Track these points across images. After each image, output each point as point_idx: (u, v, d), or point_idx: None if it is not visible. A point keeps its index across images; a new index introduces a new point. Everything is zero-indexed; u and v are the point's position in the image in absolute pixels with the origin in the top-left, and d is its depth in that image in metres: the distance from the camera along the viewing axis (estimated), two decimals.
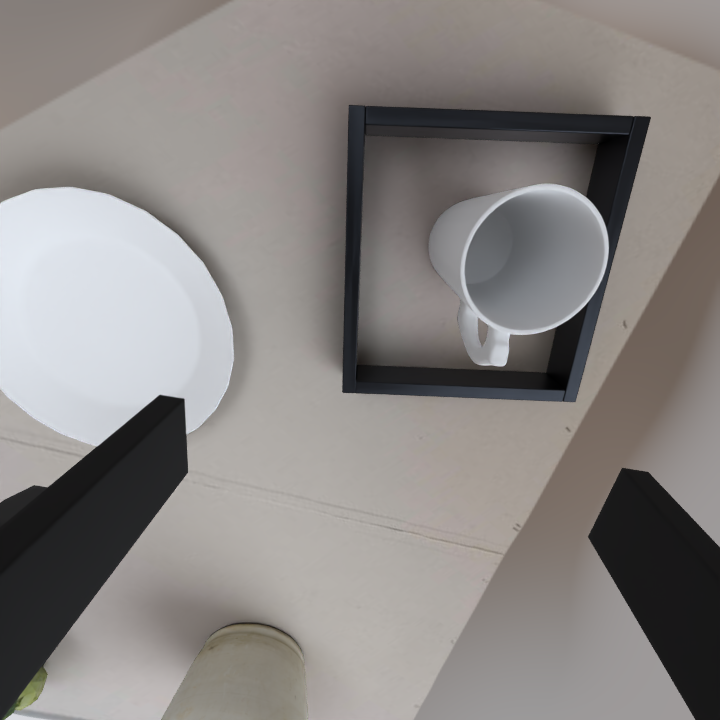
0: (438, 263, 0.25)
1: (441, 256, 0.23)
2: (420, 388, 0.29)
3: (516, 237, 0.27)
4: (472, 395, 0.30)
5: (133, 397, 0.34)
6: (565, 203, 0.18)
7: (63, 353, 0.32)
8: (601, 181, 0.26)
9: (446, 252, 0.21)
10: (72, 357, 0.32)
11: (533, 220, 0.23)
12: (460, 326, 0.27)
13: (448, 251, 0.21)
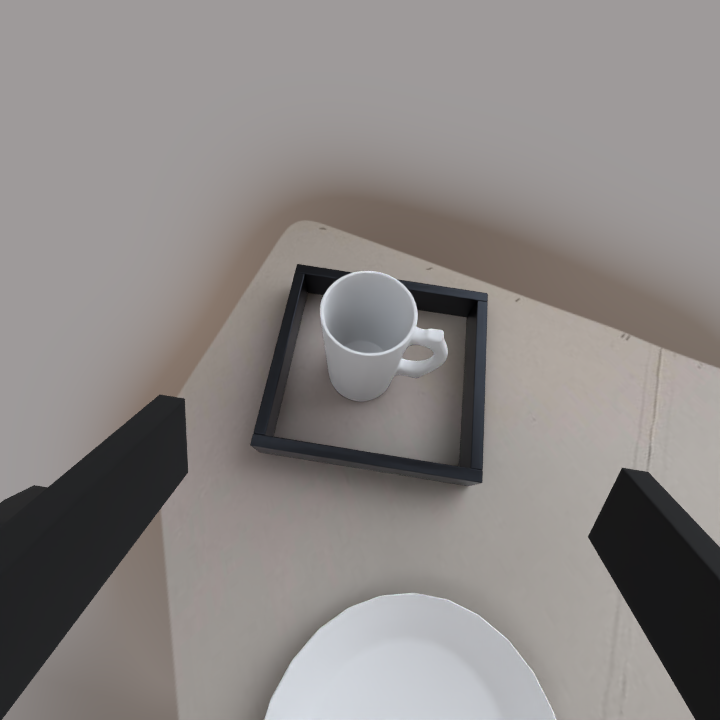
0: (369, 386, 0.32)
1: (362, 380, 0.30)
2: (477, 410, 0.33)
3: (358, 337, 0.37)
4: (483, 367, 0.35)
5: None
6: (334, 297, 0.29)
7: None
8: None
9: (358, 373, 0.29)
10: None
11: (346, 322, 0.34)
12: (421, 373, 0.33)
13: (357, 371, 0.28)
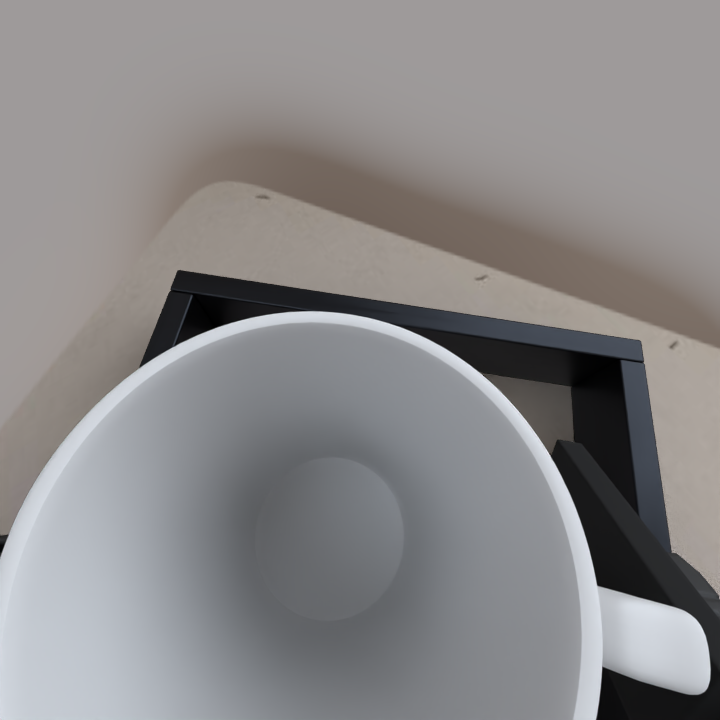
0: None
1: None
2: None
3: (324, 453, 0.15)
4: None
5: None
6: (168, 427, 0.06)
7: None
8: None
9: None
10: None
11: (279, 443, 0.12)
12: None
13: None
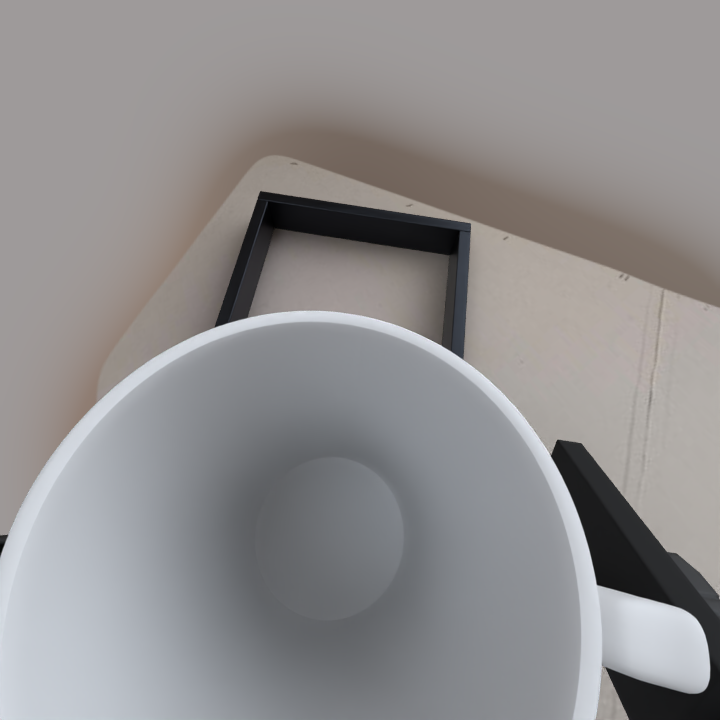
0: None
1: None
2: (456, 344, 0.29)
3: (324, 452, 0.15)
4: (464, 299, 0.31)
5: None
6: (168, 426, 0.06)
7: None
8: (297, 220, 0.36)
9: None
10: None
11: (278, 443, 0.12)
12: None
13: None
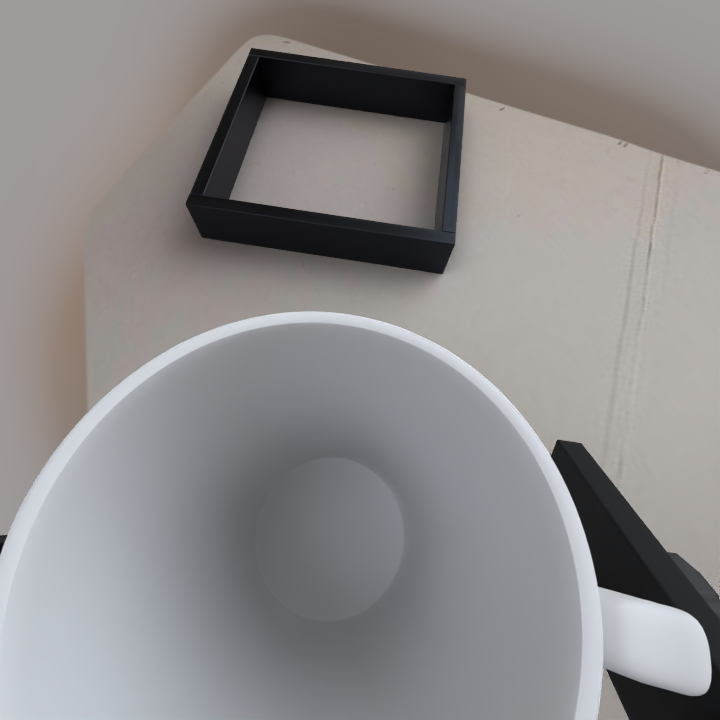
0: None
1: None
2: (450, 179, 0.29)
3: (324, 453, 0.15)
4: (459, 142, 0.30)
5: None
6: (168, 427, 0.06)
7: None
8: (289, 83, 0.35)
9: None
10: None
11: (278, 444, 0.12)
12: None
13: None
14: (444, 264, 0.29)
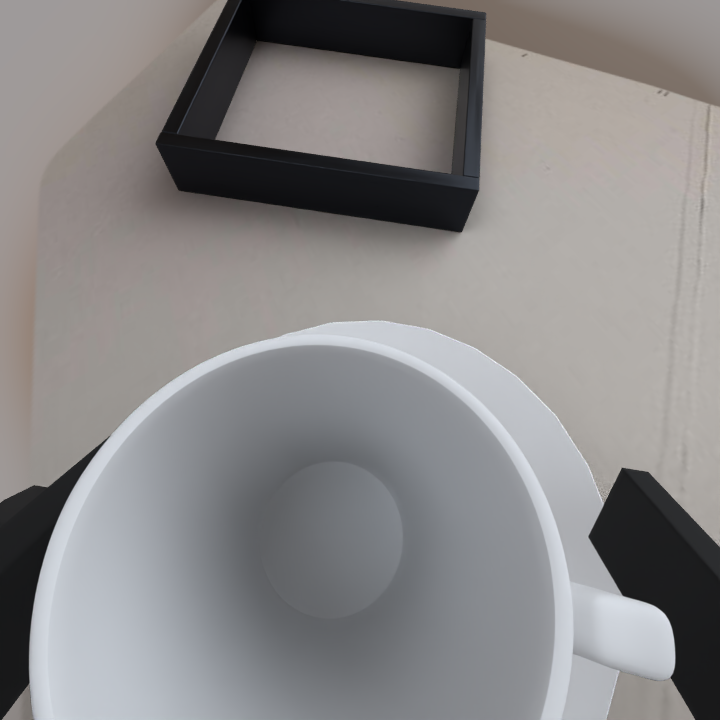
0: None
1: None
2: (472, 118, 0.24)
3: (326, 457, 0.15)
4: (480, 79, 0.26)
5: None
6: (185, 438, 0.07)
7: None
8: (283, 22, 0.31)
9: None
10: None
11: (283, 449, 0.12)
12: None
13: None
14: (464, 219, 0.24)
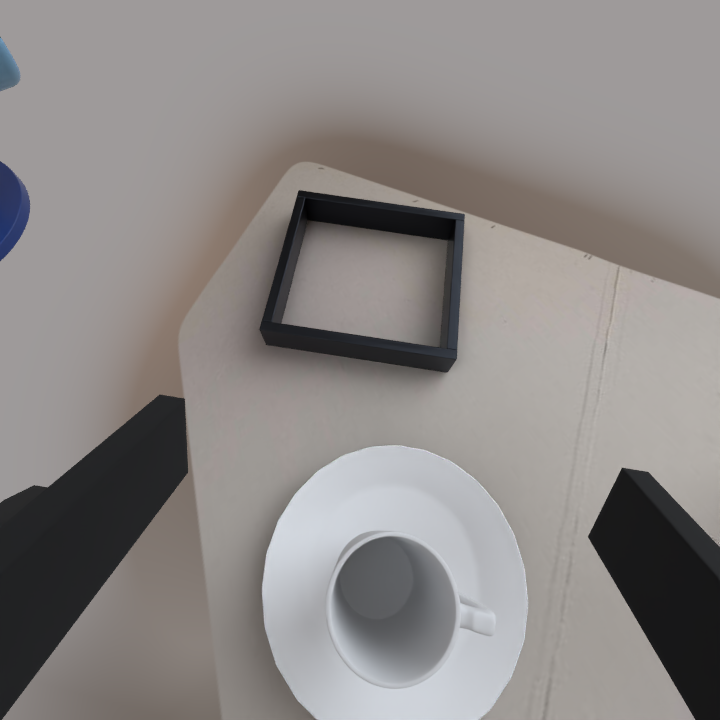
0: None
1: None
2: (453, 304, 0.39)
3: None
4: (459, 272, 0.40)
5: (468, 580, 0.32)
6: None
7: None
8: (327, 213, 0.45)
9: None
10: None
11: None
12: None
13: None
14: (448, 368, 0.39)
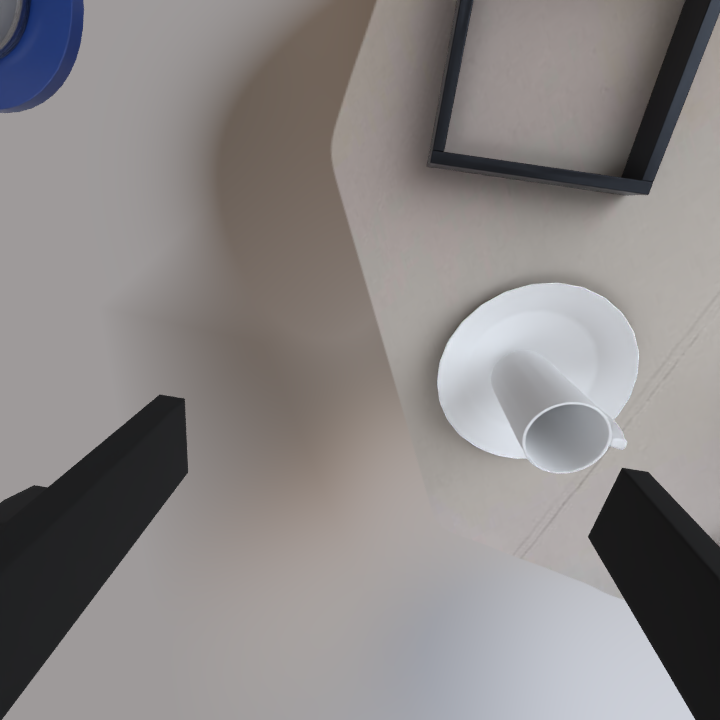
0: None
1: None
2: (671, 113, 0.31)
3: None
4: (701, 52, 0.29)
5: (586, 376, 0.43)
6: None
7: None
8: None
9: None
10: None
11: None
12: None
13: None
14: (631, 194, 0.35)
